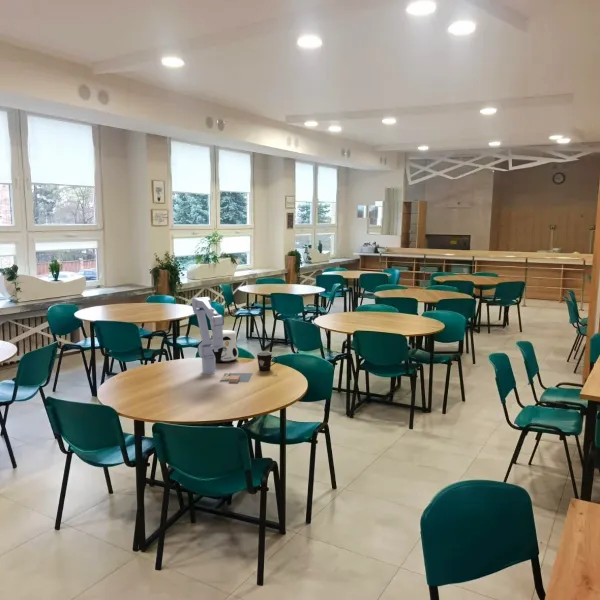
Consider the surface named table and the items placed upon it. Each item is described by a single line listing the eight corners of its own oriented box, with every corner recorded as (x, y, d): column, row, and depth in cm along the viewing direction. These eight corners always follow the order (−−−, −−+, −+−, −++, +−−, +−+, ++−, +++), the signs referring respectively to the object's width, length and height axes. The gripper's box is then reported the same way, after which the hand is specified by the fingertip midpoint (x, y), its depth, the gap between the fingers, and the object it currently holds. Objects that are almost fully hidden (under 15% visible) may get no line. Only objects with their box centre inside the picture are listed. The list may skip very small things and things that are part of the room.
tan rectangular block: (230, 375, 300) (228, 379, 293) (240, 375, 300) (237, 379, 293) (231, 379, 301) (228, 382, 294) (240, 378, 300) (238, 382, 293)
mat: (225, 373, 313) (225, 373, 313) (252, 373, 312) (252, 373, 312) (219, 382, 295) (219, 382, 295) (248, 382, 294) (248, 382, 294)
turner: (225, 373, 312) (225, 372, 311) (232, 373, 311) (232, 372, 311) (220, 380, 298) (220, 379, 298) (228, 380, 298) (228, 379, 297)
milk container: (212, 365, 333) (211, 336, 331) (209, 358, 350) (208, 330, 347) (240, 362, 338) (239, 334, 335) (236, 356, 354) (235, 329, 352)
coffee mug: (254, 370, 319) (253, 353, 318) (266, 367, 325) (265, 351, 323) (266, 374, 310) (265, 357, 309) (278, 371, 316) (277, 354, 315)
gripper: (212, 334, 306) (213, 358, 308) (207, 340, 292) (208, 365, 294) (225, 334, 306) (225, 358, 308) (221, 340, 292) (222, 364, 294)
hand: (218, 361), depth 301 cm, fingers closed
